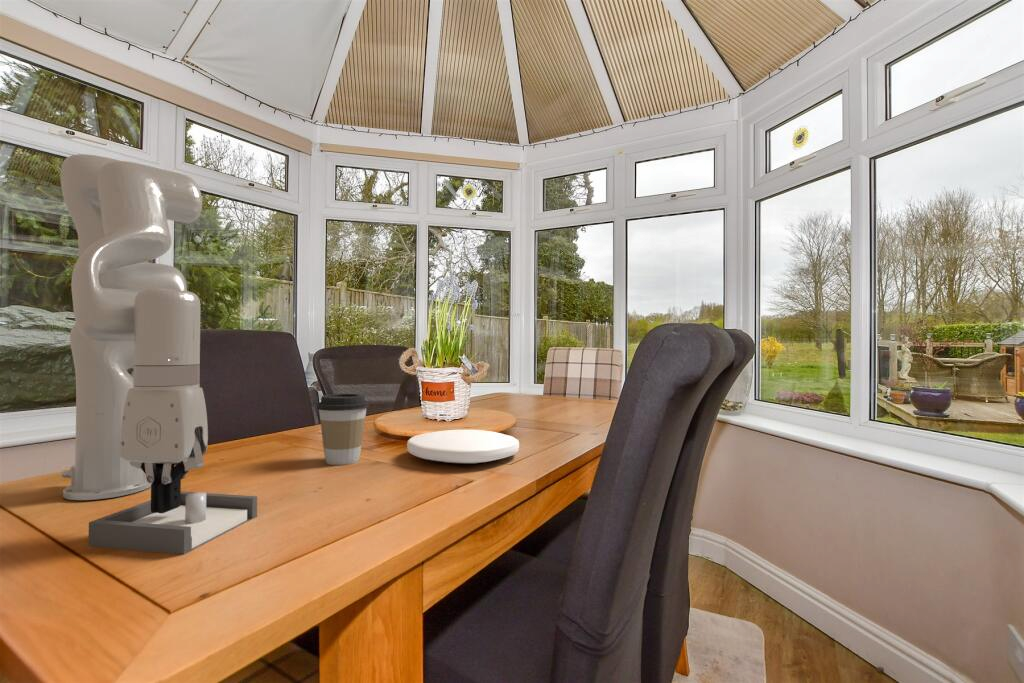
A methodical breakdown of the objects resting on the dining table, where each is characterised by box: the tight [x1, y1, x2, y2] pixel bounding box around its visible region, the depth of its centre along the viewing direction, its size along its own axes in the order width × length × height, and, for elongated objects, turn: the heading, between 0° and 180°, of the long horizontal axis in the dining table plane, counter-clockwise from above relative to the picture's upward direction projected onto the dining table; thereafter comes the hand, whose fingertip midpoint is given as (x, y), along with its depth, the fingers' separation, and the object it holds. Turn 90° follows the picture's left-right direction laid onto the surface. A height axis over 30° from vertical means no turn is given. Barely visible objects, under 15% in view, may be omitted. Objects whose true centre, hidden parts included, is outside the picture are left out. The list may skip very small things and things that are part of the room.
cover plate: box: [132, 491, 247, 549], centre depth 66 cm, size 12×10×5 cm
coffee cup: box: [316, 393, 370, 466], centre depth 110 cm, size 11×11×15 cm
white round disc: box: [406, 429, 520, 464], centre depth 116 cm, size 28×6×27 cm
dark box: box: [87, 491, 258, 556], centre depth 67 cm, size 14×13×4 cm
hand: (165, 509), depth 67 cm, fingers closed
